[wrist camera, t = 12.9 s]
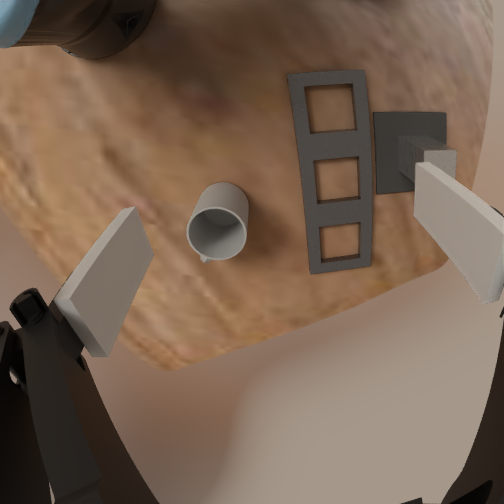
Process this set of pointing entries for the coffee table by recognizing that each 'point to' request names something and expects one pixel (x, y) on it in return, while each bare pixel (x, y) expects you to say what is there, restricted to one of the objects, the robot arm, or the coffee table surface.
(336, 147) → the rail
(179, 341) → the coffee table surface
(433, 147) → the grey rectangular block
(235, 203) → the cup
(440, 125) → the rubber mat
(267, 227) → the coffee table surface
